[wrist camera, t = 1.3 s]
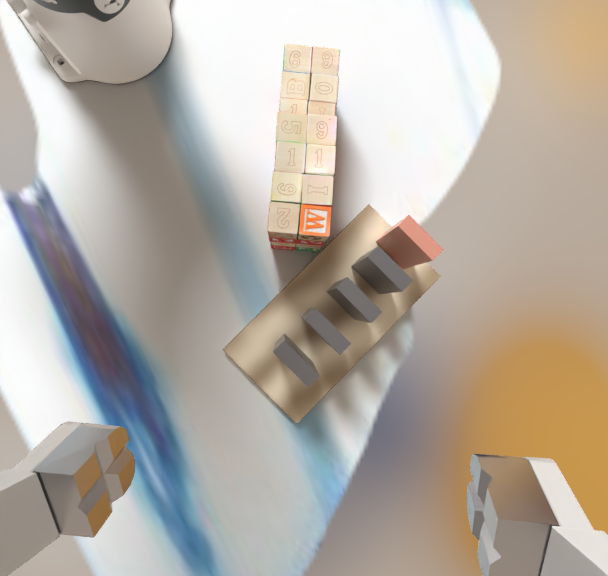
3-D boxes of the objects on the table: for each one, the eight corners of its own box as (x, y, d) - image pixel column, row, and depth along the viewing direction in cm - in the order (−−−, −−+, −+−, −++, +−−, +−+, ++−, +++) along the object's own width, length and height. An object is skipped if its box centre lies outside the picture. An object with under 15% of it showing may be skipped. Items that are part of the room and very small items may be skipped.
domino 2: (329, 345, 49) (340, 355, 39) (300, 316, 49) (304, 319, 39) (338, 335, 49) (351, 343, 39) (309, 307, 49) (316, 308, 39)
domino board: (224, 348, 50) (222, 349, 49) (367, 206, 52) (368, 204, 50) (296, 421, 50) (296, 423, 49) (437, 276, 52) (440, 276, 50)
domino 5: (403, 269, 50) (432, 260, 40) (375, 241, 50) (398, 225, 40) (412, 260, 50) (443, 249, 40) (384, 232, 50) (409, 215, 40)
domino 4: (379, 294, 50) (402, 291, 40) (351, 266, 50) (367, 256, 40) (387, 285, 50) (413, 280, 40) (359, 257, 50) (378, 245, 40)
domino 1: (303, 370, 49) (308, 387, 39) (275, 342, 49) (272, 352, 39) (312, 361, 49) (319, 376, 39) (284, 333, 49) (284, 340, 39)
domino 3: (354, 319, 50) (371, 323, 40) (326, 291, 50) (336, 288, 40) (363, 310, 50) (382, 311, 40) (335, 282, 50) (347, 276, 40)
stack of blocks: (284, 88, 52) (284, 21, 40) (332, 93, 52) (346, 28, 40) (271, 249, 51) (266, 231, 39) (319, 253, 51) (329, 237, 39)
